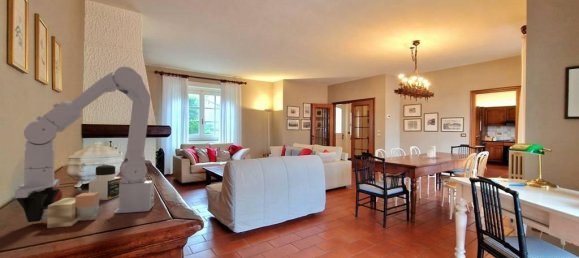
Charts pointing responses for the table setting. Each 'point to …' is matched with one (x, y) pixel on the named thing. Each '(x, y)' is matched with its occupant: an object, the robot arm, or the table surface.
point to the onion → (57, 195)
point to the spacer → (87, 200)
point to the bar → (79, 212)
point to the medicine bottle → (105, 182)
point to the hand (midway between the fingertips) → (38, 219)
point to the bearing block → (62, 213)
